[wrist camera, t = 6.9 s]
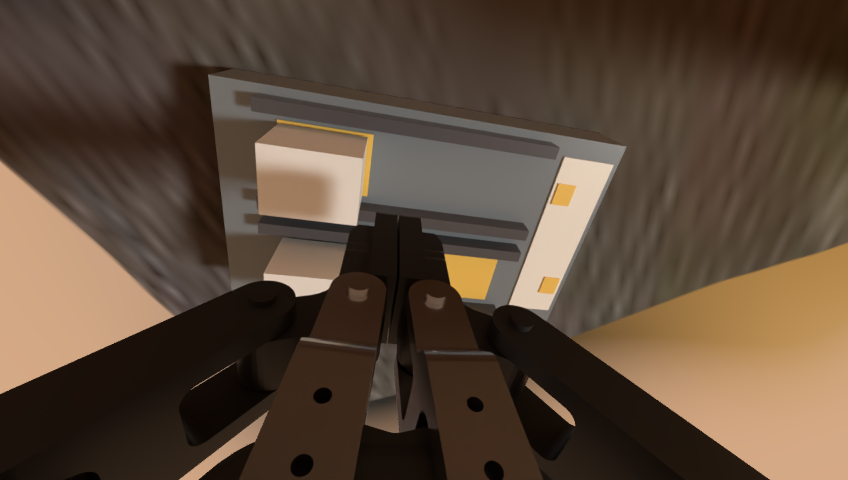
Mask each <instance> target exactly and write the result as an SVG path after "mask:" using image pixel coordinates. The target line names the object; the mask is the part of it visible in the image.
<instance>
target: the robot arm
mask: <svg viewBox="0 0 848 480" xmlns="http://www.w3.org/2000/svg"><path fill="white" fill-rule="evenodd" d="M388 328H389V338H388V343H390V344H397V355H396V360H395V365H394V373H395V386H396V399H397V412H398V425H399V433H391V432H387V431H384V430H380V429H377V428H374V427H371V426H367V425H365V424H366V417H367V411H368V406H369V400H370V394H371V388H372V382H373V376H374V370H375V363H376V361H377V360H378V357H379V353H380V347H381V343H386V340H387V334H388ZM234 362H236V363H234ZM232 363H234V364H233V365H231V364H232ZM229 365H231V366H229ZM227 366H229V367H228V368H226V367H227ZM224 368H226V369H224ZM222 369H224V370H223V371H221V370H222ZM219 371H221V372H219ZM217 372H219V373H218V374H216V373H217ZM214 374H216V375H215V376H213V377H211V376H212V375H214ZM209 377H211V378H210V379H208V378H209ZM529 377H530V378H531V379H532V380H533V381H534V382H536V383H537V384H538V385H539V386H540V387H541V388H543V389H544V390H545V391H546V392H547V393H549V394H550V395H551V396H552V397H553V398H555V399H556V400H557V401H558V402H559V403H561V404H562V405H563V406H564V407H565V408H566V409H567V410H568V411H569V412H570V413H571V415H572V416H573V418H574V421H575V426H573V425H571V424H569V423H568V422H567V421H565V420H564V419H563V418H562V417H561V416H560V415H558V414H557V413H556V412H555V411H554V410H553V409H552V408H550V407H549V406H548V405H547V404H546V403H545V402H544V401H542V400H541V399H540V398H539V397H538V396H537V395H535V394H534V393H533V392H532V391H531V390H530V389H528V388H527V387H526V386H525V385H526V382H527V380H528V378H529ZM206 379H208V380H206ZM204 380H206V381H205V382H203V383H202V384H200V385H199V386H197V387H195V386H196V385H198V384H199V383H201V382H202V381H204ZM193 387H195V388H193ZM192 388H193V389H192ZM191 389H192V390H191ZM268 410H269V411H268ZM267 411H268V414H267V416H266V418H265V420H264V423H263V425H262V428H261V430H260V432H259V435H258V437H257V439H256V441H255V442H254V443H251V444H249V445H247V446H245V447H243V448H242V449H240V450H238V451H236V452H234V453H233V454H231V455H230V456H229V457H227V458H225V459H224V460H223V461H221V462H220V463H218V464H217V465H216V466H214V467H213V468H212V469H211V470H209V472H207V473H206V474H205V475H204V476H202V477H201V478H200V479H199V480H769V479H768V478H766V477H765V476H764V475H762V474H761V473H759V472H758V471H757V470H755V469H754V468H753V467H751V466H750V465H748V464H747V463H745V462H744V461H742V460H741V459H740V458H738V457H737V456H736V455H734V454H733V453H731V452H730V451H728V450H727V449H726V448H724V447H723V446H721V445H720V444H719V443H717V442H716V441H714V440H713V439H712V438H710V437H708V436H707V435H706V434H704V433H703V432H702V431H700V430H699V429H697V428H696V427H695V426H693V425H692V424H690V423H689V422H687V421H686V420H685V419H683V418H682V417H680V416H679V415H678V414H676V413H675V412H673V411H672V410H671V409H669V408H668V407H666V406H665V405H663V404H662V403H661V402H659V401H658V400H656V399H655V398H654V397H652V396H651V395H649V394H648V393H647V392H645V391H644V390H642V389H641V388H639V387H638V386H637V385H635V384H634V383H632V382H631V381H630V380H628V379H627V378H625V377H624V376H622V375H621V374H620V373H618V372H617V371H615V370H614V369H613V368H611V367H610V366H608V365H607V364H606V363H604V362H603V361H601V360H600V359H598V358H597V357H595V356H594V355H593V354H591V353H590V352H589V351H587V350H586V349H584V348H583V347H581V346H580V345H579V344H577V343H576V342H575V341H573V340H572V339H570V338H569V337H567V336H566V335H565V334H563V333H562V332H560V331H559V330H558V329H556V328H555V327H553V326H552V325H551V324H549V323H548V322H546V321H545V320H543V319H542V318H541V317H539V316H538V315H536V314H535V313H533V312H532V311H530V310H528V309H526V308H523V307H520V306H515V305H504V306H500V307H498V308H497V309H496V310H495V311H494V313H493V315H492V316H491V315H488V314H485V313H482V312H479V311H476V310H473V309H471V308H469V307H467V306H465V305H464V304H463V301H462V298H461V296H460V294H459V293H458V291H457V290H456V289H455V288H453V287H452V286H451V285H450V280H449V275H448V270H447V265H446V261H445V255H444V250H443V245H442V242H441V241H440V240H439V238H438V237H437V236H436V235H435V234H433V233H425V232H422V224H421V218H419V217H412V216H404V215H399V218H398V215H396V214H388V213H380V212H376V217H375V224H374V226H368V225H359V224H358V225H357V226H356V227H355V228H353V229H352V230H351V231H350V233H349V237H348V242H347V245H346V250H345V253H344V257H343V261H342V265H341V269H340V273H339V276H338V277H336V278H335V279H334V280H333V281H332V283H331V285H330V287H329V289H328V290H326V291H323V292H321V293H317V294H313V295H306V296H298V297H296V294H295V292H294V290H293V289H292V288H291V287H290V286H288V285H286V284H284V283H281V282H278V281H268V280H265V281H257V282H252V283H249V284H246V285H244V286H241V287H239V288H237V289H235V290H233V291H230V292H228V293H226V294H224V295H221V296H219V297H217V298H215V299H212V300H210V301H208V302H206V303H203V304H201V305H199V306H197V307H194V308H192V309H190V310H188V311H186V312H183V313H181V314H179V315H177V316H174V317H172V318H170V319H168V320H165V321H163V322H161V323H159V324H156V325H154V326H152V327H150V328H148V329H145V330H143V331H141V332H139V333H136V334H134V335H132V336H130V337H128V338H125V339H123V340H121V341H118V342H116V343H114V344H112V345H109V346H107V347H105V348H103V349H100V350H98V351H96V352H94V353H91V354H89V355H87V356H85V357H82V358H80V359H78V360H76V361H74V362H71V363H69V364H67V365H65V366H62V367H60V368H58V369H56V370H53V371H51V372H49V373H47V374H44V375H42V376H40V377H38V378H36V379H33V380H31V381H29V382H27V383H24V384H22V385H20V386H18V387H15V388H13V389H11V390H9V391H6V392H5V393H2V394H0V480H179V479H180V478H181V477H183V476H184V475H185V474H187V473H188V472H189V471H191V470H192V469H193V468H194V467H196V466H197V465H198V464H199V463H201V462H202V461H203V460H205V459H206V458H207V457H209V456H210V455H211V454H213V453H214V452H215V451H216V450H217V449H219V448H220V447H222V446H223V445H224V444H225V443H227V442H228V441H229V440H231V439H232V438H233V437H235V436H236V435H237V434H238V433H240V432H241V431H242V430H243V429H245V428H246V427H247V426H249V425H250V424H251V423H253V422H254V421H255V420H257V419H258V418H259V417H260V416H262V415H263V414H264V413H266V412H267Z"/></svg>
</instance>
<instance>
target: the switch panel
mask: <svg viewBox="0 0 848 480" xmlns="http://www.w3.org/2000/svg"><path fill="white" fill-rule="evenodd" d="M208 78H209V87H210V96H211V106H212V115H213V124H214V133H215V142H216V151H217V160H218V170H219V179H220V188H221V197H222V206H223V215H224V224H225V234H226V243H227V252H228V261H229V270H230V279H231V289H232V291H233V290H235V289H237V288H239V287H241V286H244V285H246V284H249V283H252V282H257V281H264V272H265V270H266V268H267V266H268V264H269V262H270V260H271V258H272V256H273V255H274V253H275V251H276V249H277V247H278V245H279V243H280V241H281V239H282V238H283V237H284V238H293V239H302V240H311V241H321V242H330V243H339V244H347V242H348V237H349V233H350V231H351V230H352V229H353V228H355V227H356V226H353V225H345V224H336V223H328V222H319V221H311V220H302V219H294V218H285V217H277V216H268V215H260V214H259V208H258V189H257V171H256V153H255V142H256V141H258V140H259V139H260V138H261V137H263V136H264V135H265V134H266V133H267V132H269V131H270V130H271V129H272V128H274V127H275V126H276V125H277V124H279V123H281V124H288V125H294V126H300V127H307V128H313V129H319V130H326V131H332V132H338V133H345V134H351V135H358V136H364V137H368V140H367V151H366V161H365V171H364V181H363V191H362V199H361V204H360V210H359V215H358V221H357V225H358V224H359V225H368V226H374V224H375V217H376V212H380V213H388V214H396V215H398V218H399V215H404V216H412V217H419V218H421V224H422V232H425V233H433V234H435V235H436V236H437V237H438V238H439V240H440V241H441V242H442V245H443V250H444V255H445V261H446V265H447V270H448V275H449V280H450V285H451V286H452V287H453V288H455V289H456V290H457V291H458V293H459V294H460V296H461V298H462V301H463V304H464V305H465V306H467V307H469V308H471V309H473V310H476V311H479V312H482V313H485V314H488V315H491V316H492V315H493V313H494V311H495V310H496V309H497V308H498V307H500V306H504V305H515V306H520V307H523V308H526V309H528V310H530V311H532V312H533V313H535V314H536V315H538V316H539V317H541V318H542V319H543V320H545V321H547V319H548V317H549V315H550V312H551V310H552V308H553V306H554V304H555V301H556V299H557V297H558V295H559V293H560V291H561V288H562V286H563V284H564V282H565V280H566V278H567V275H568V273H569V271H570V269H571V267H572V264H573V262H574V260H575V258H576V256H577V254H578V251H579V249H580V247H581V245H582V243H583V240H584V238H585V236H586V234H587V232H588V230H589V227H590V225H591V223H592V221H593V219H594V216H595V214H596V212H597V210H598V208H599V206H600V203H601V201H602V199H603V197H604V195H605V193H606V190H607V188H608V186H609V184H610V182H611V179H612V177H613V175H614V173H615V171H616V169H617V166H618V164H619V162H620V160H621V158H622V155H623V153H624V151H625V149H626V146H624V145H622V144H620V143H618V142H616V141H614V140H612V139H610V138H608V137H606V136H604V135H602V134H600V133H598V132H592V131H586V130H581V129H575V128H569V127H564V126H558V125H552V124H547V123H541V122H535V121H530V120H524V119H518V118H513V117H507V116H501V115H496V114H490V113H484V112H479V111H473V110H468V109H462V108H456V107H451V106H445V105H439V104H434V103H428V102H422V101H417V100H411V99H405V98H400V97H394V96H388V95H383V94H377V93H371V92H366V91H360V90H354V89H349V88H343V87H337V86H332V85H326V84H320V83H315V82H309V81H303V80H298V79H292V78H286V77H281V76H275V75H269V74H264V73H258V72H252V71H247V70H241V69H235V68H234V69H230V70H226V71H221V72H217V73H213V74H208Z"/></svg>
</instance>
